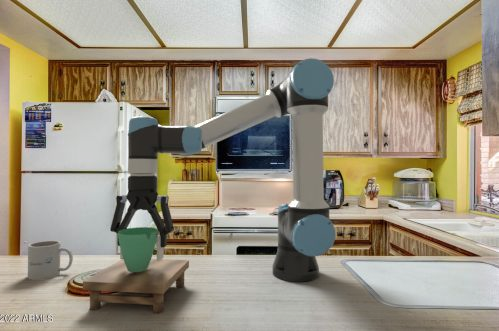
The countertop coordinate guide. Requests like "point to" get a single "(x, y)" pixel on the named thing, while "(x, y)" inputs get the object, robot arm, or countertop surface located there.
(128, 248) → the green cup
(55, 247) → the mug
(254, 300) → the countertop surface
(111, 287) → the stool
